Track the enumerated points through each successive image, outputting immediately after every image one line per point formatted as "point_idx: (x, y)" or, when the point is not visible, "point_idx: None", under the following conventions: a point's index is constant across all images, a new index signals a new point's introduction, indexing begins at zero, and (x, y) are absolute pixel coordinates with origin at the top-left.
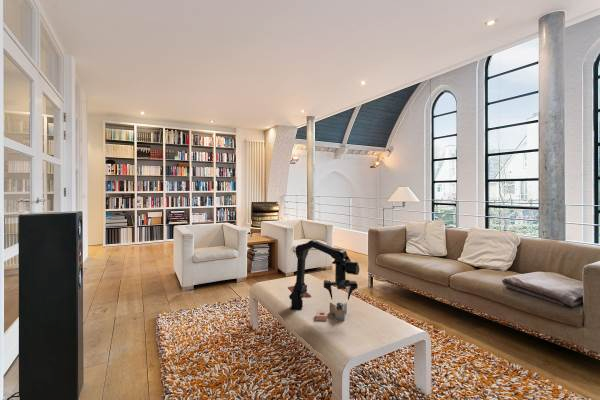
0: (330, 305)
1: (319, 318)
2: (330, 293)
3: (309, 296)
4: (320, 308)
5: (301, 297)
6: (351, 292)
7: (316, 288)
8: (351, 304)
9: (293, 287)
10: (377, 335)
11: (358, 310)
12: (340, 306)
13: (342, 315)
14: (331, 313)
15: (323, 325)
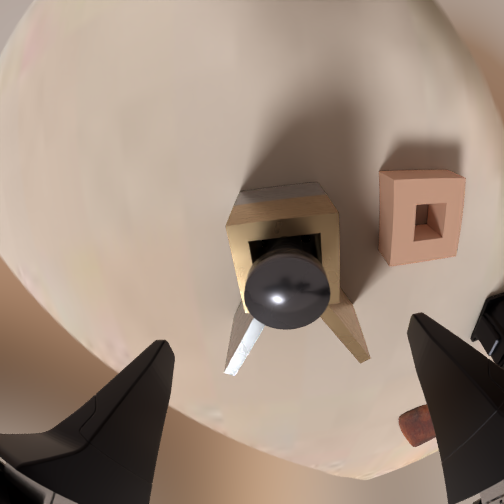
0: (361, 337)
1: (438, 172)
2: (492, 370)
3: (408, 414)
4: (395, 342)
5: (499, 361)
6: (63, 421)
7: (359, 455)
8: (219, 400)
9: (431, 436)
10: (41, 57)
11: None
12: (278, 251)
13: (254, 201)
14: (342, 291)
15: (402, 83)
